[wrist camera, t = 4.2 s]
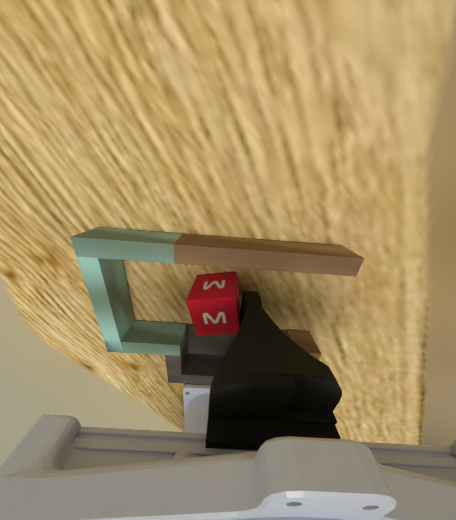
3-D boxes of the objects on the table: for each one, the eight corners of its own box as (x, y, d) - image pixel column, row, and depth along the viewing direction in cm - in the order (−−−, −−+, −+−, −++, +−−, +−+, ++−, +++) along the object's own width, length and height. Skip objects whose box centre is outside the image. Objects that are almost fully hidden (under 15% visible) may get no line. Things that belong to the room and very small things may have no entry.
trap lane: (296, 365, 17) (305, 389, 15) (130, 356, 17) (116, 379, 15) (341, 245, 12) (363, 258, 10) (98, 227, 12) (70, 236, 10)
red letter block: (236, 271, 13) (235, 297, 10) (240, 303, 14) (240, 334, 11) (197, 275, 13) (185, 300, 10) (204, 306, 14) (196, 336, 12)
